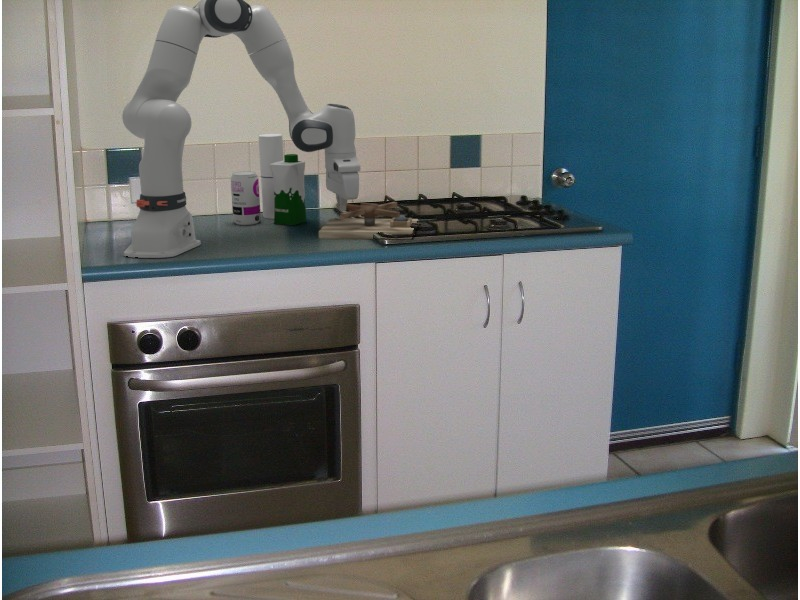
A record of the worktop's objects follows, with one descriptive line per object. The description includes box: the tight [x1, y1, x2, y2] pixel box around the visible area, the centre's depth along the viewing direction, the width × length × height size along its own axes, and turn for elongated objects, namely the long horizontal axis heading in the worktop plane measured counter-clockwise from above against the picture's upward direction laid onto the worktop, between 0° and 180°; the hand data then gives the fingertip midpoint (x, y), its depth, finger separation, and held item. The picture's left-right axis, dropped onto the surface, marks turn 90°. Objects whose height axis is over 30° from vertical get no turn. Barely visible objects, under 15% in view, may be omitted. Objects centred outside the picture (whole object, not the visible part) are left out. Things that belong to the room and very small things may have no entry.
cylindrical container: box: [258, 133, 284, 220], centre depth 282 cm, size 7×7×25 cm
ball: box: [396, 214, 407, 221], centre depth 260 cm, size 3×3×3 cm
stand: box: [318, 217, 419, 240], centre depth 261 cm, size 18×26×4 cm
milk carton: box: [270, 153, 307, 226], centre depth 273 cm, size 9×9×20 cm
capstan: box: [335, 201, 401, 219], centre depth 260 cm, size 22×24×3 cm
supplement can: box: [230, 170, 262, 226], centre depth 274 cm, size 8×8×15 cm
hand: (342, 210), depth 264 cm, fingers closed
